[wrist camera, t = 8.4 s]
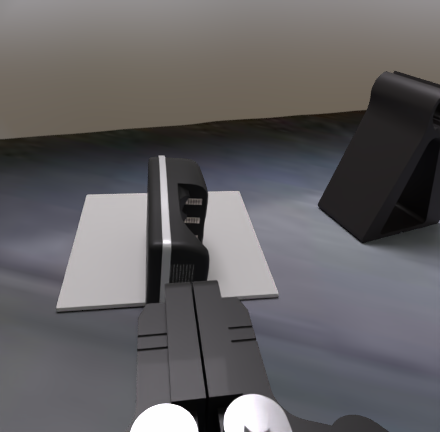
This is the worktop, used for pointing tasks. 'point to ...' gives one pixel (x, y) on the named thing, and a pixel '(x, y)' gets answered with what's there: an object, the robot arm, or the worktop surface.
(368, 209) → the phone stand
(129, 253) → the mat
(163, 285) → the battery charger
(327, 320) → the worktop surface
